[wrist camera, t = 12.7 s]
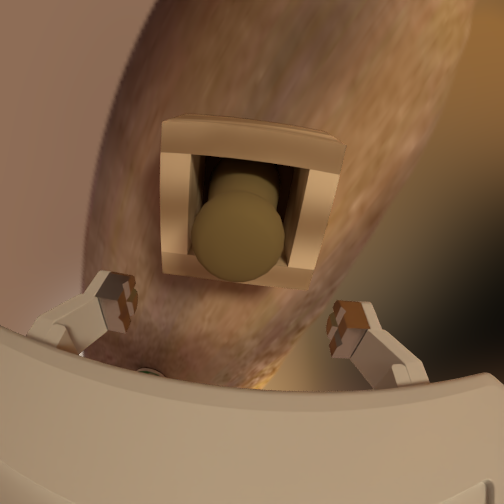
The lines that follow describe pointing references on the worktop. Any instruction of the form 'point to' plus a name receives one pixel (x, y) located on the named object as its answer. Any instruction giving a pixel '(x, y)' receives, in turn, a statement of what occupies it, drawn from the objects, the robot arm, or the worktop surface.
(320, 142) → the shaker holder
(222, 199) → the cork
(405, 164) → the worktop surface
